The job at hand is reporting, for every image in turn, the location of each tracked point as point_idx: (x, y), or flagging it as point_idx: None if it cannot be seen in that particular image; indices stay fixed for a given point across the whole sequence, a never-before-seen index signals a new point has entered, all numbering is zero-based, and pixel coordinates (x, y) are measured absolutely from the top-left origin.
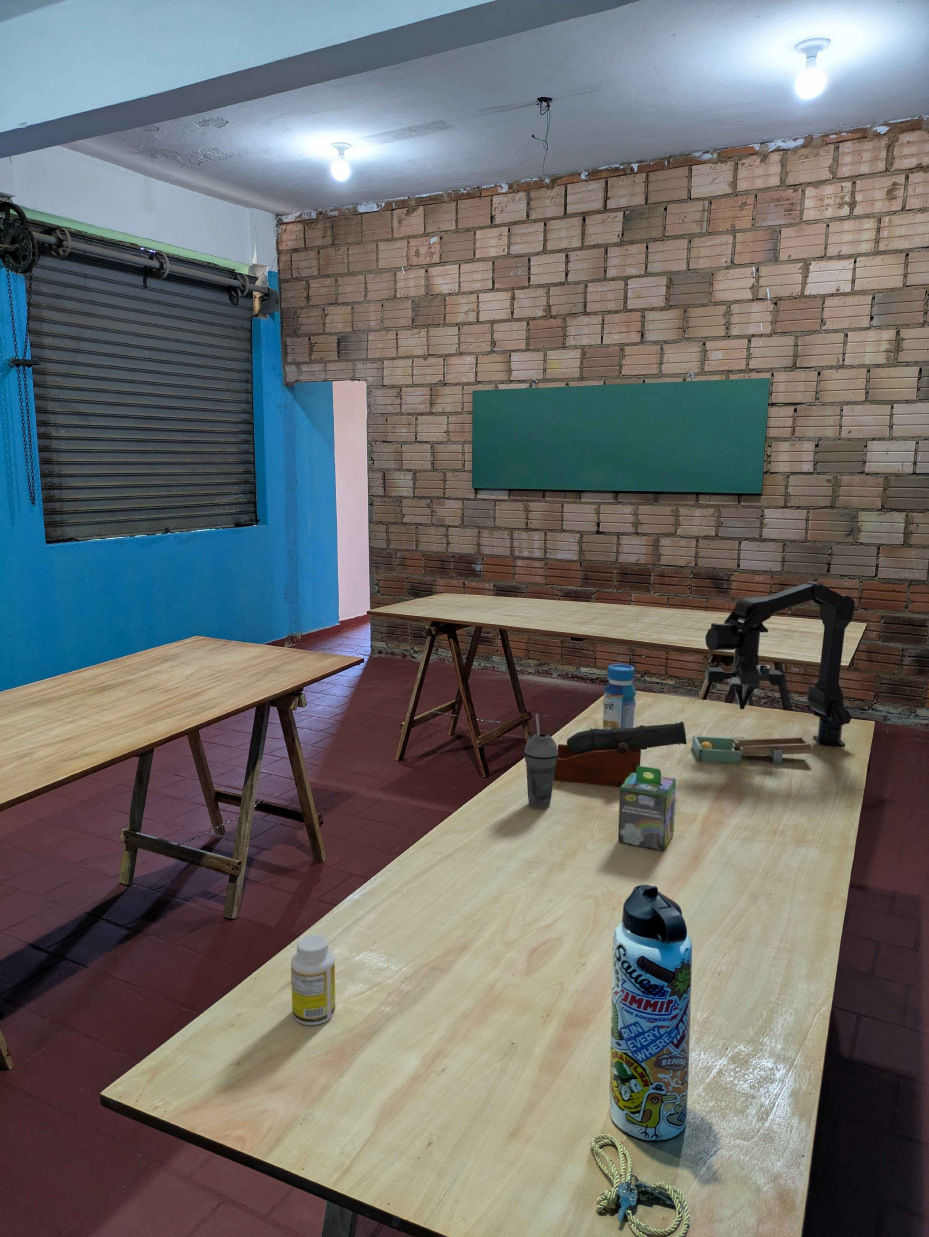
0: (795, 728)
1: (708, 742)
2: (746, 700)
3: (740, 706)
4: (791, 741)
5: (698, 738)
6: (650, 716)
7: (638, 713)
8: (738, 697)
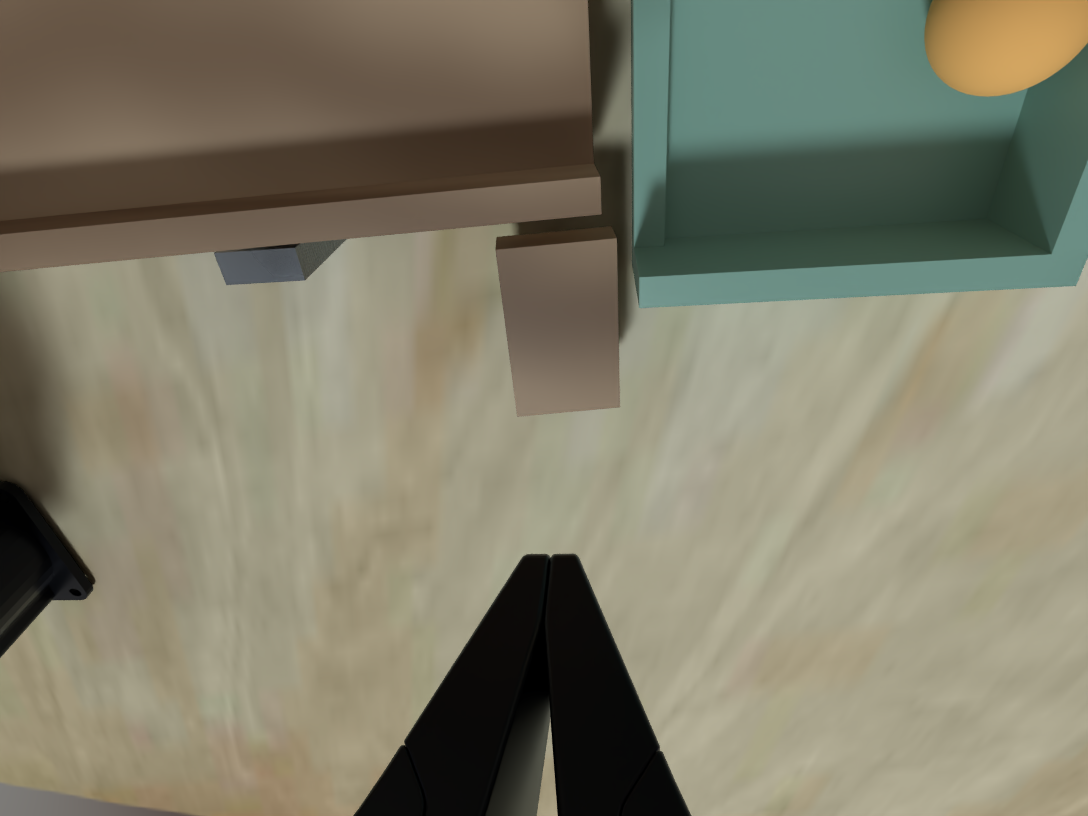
0: (218, 688)
1: (1019, 25)
2: (465, 690)
3: (582, 584)
4: (34, 223)
5: (1016, 251)
6: (1003, 747)
7: (1054, 774)
8: (655, 750)
